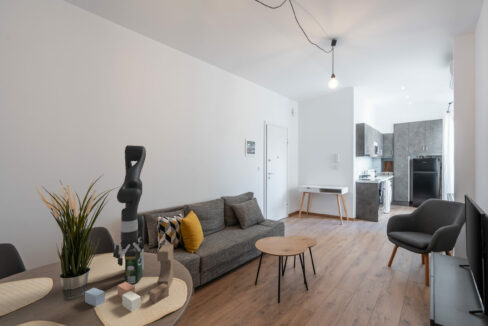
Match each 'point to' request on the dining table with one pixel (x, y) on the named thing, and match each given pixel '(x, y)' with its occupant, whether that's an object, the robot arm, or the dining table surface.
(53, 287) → the dining table surface
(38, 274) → the dining table surface
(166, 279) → the decorative block
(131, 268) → the coffee jar
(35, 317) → the dining table surface
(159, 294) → the walnut brick
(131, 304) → the cream brick
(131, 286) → the terracotta brick
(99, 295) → the slate brick
